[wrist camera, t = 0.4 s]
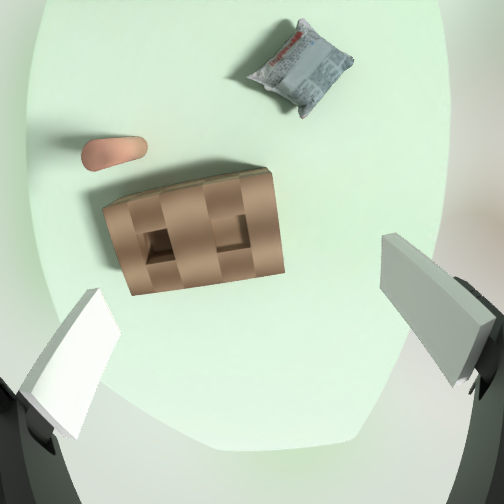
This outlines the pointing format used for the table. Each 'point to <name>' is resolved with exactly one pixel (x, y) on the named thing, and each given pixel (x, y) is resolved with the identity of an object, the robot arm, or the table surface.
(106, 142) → the dowel
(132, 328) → the table surface
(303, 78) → the packaged food
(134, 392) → the table surface
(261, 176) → the bore block
